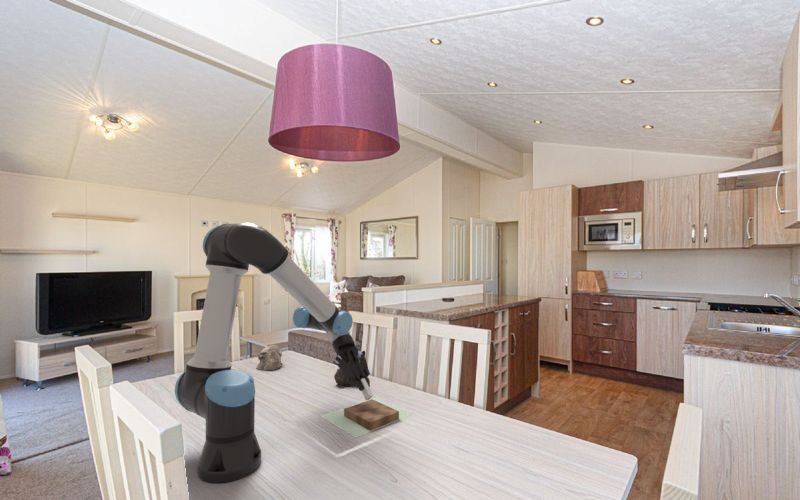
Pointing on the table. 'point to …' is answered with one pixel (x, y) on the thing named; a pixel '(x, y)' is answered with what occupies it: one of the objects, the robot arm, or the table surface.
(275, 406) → the table surface
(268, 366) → the rock
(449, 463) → the table surface
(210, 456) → the robot arm
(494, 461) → the table surface
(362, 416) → the board
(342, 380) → the rock
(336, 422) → the mat
